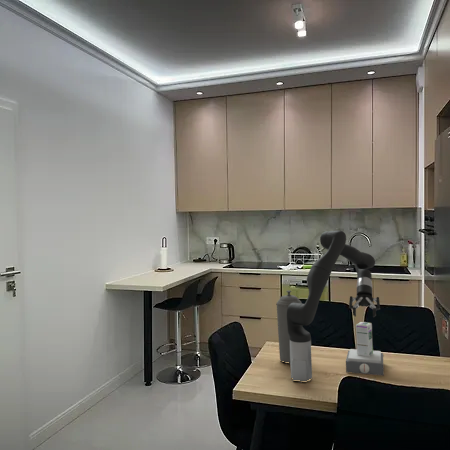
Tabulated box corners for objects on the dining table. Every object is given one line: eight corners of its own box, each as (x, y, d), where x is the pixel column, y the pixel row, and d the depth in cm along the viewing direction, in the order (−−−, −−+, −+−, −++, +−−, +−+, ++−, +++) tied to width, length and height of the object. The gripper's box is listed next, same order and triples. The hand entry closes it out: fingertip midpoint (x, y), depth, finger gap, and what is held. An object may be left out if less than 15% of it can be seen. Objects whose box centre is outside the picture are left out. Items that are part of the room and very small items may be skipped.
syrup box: (369, 357, 192) (368, 325, 192) (356, 355, 195) (355, 323, 195) (373, 353, 197) (372, 322, 196) (360, 351, 200) (359, 321, 200)
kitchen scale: (383, 376, 185) (383, 362, 185) (345, 372, 190) (345, 359, 190) (383, 363, 201) (382, 350, 201) (348, 360, 206) (348, 348, 206)
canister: (273, 359, 212) (271, 290, 212) (294, 355, 217) (292, 287, 217) (287, 367, 200) (284, 293, 200) (309, 362, 206) (306, 291, 205)
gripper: (349, 283, 212) (348, 311, 202) (379, 284, 207) (380, 312, 197) (350, 292, 217) (349, 319, 207) (379, 293, 212) (380, 321, 202)
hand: (364, 316), depth 202 cm, fingers open, 8 cm apart
